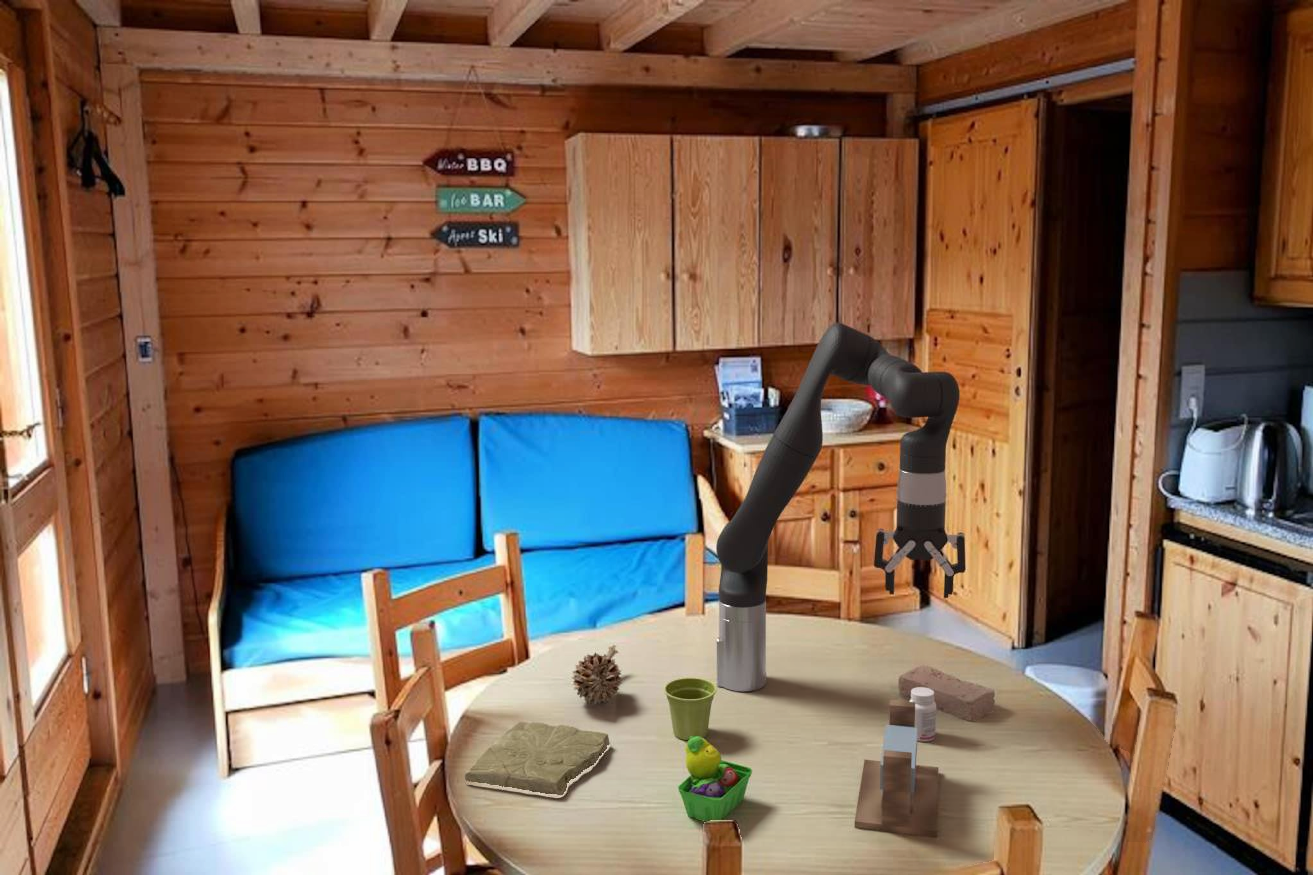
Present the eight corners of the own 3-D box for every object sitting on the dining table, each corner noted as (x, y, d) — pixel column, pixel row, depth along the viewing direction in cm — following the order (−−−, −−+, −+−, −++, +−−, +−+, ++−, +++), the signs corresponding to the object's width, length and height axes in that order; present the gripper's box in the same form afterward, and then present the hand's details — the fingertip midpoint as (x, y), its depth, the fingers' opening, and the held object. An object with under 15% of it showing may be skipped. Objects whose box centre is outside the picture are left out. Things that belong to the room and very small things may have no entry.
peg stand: (854, 827, 164) (855, 753, 162) (864, 764, 183) (865, 697, 181) (936, 837, 161) (939, 761, 159) (938, 772, 180) (940, 704, 178)
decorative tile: (463, 787, 179) (462, 767, 178) (518, 734, 198) (518, 716, 197) (568, 805, 173) (567, 784, 172) (615, 749, 191) (614, 730, 191)
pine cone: (618, 718, 202) (617, 668, 200) (567, 717, 203) (565, 667, 201) (631, 671, 224) (630, 625, 222) (585, 670, 225) (584, 624, 223)
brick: (996, 710, 204) (997, 687, 203) (972, 724, 198) (972, 700, 197) (921, 685, 216) (922, 662, 215) (896, 697, 210) (896, 674, 209)
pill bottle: (937, 732, 194) (939, 688, 193) (932, 744, 190) (934, 698, 189) (910, 728, 196) (912, 684, 195) (905, 739, 192) (906, 694, 191)
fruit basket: (719, 832, 164) (719, 762, 162) (669, 816, 168) (668, 748, 166) (754, 798, 173) (754, 732, 171) (705, 784, 178) (705, 719, 176)
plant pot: (727, 732, 196) (727, 686, 194) (693, 750, 189) (692, 703, 188) (688, 717, 202) (688, 673, 201) (653, 734, 196) (652, 689, 194)
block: (879, 789, 165) (880, 764, 164) (885, 747, 179) (885, 724, 178) (913, 793, 164) (914, 768, 163) (916, 750, 177) (917, 727, 176)
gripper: (967, 493, 175) (964, 590, 178) (877, 489, 179) (875, 584, 182) (968, 505, 168) (964, 605, 171) (874, 500, 172) (872, 599, 175)
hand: (918, 594), depth 177 cm, fingers open, 8 cm apart
